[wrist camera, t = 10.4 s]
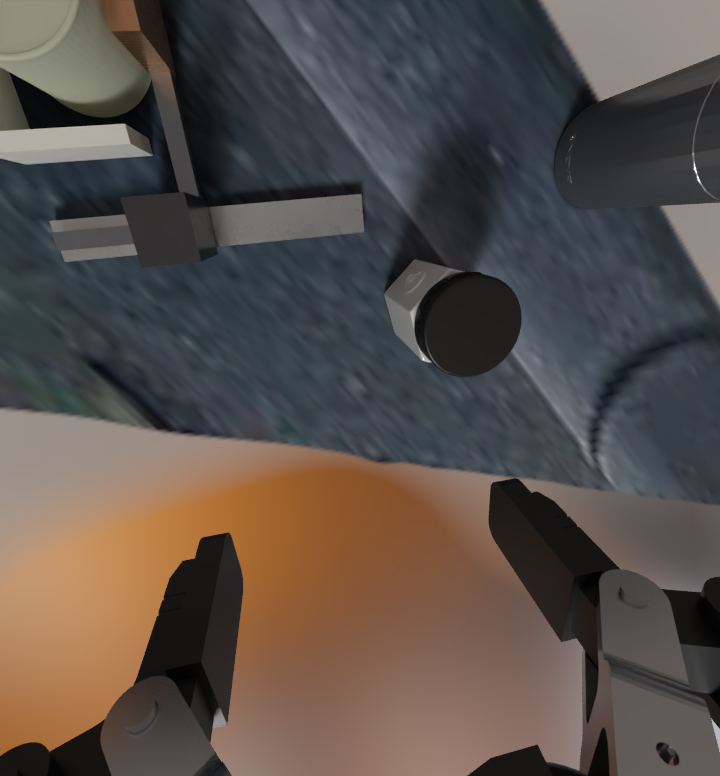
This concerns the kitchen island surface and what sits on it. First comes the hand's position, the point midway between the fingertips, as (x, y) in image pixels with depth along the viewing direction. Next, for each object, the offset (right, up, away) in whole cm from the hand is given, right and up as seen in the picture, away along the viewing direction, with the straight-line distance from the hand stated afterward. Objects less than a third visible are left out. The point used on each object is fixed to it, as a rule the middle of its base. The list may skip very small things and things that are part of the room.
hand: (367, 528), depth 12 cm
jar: (+7, +13, +29) cm, 33 cm away
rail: (-13, +19, +23) cm, 32 cm away
